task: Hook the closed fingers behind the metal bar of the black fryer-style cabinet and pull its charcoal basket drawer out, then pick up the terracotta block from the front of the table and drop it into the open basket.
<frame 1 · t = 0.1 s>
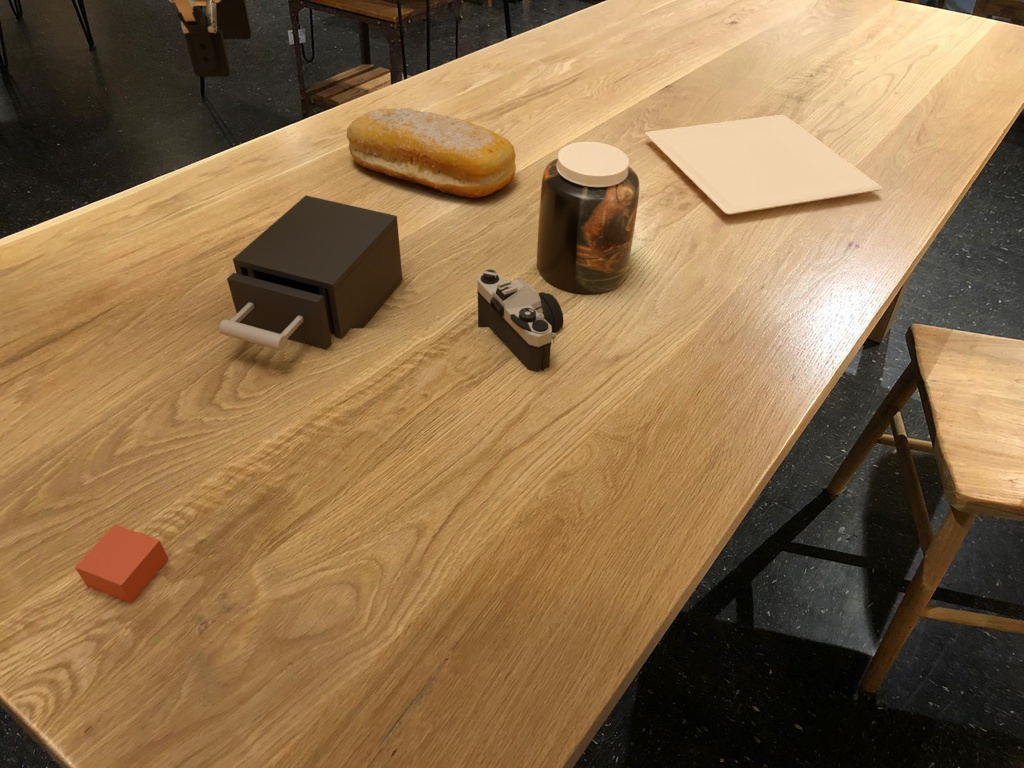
hand: (225, 55, 75), 27 cm above the table, tool pointing down, fingers open, 9 cm apart
plate: (754, 171, 118), on the table
jar: (581, 268, 98), on the table
drawer: (299, 295, 84), point 5 cm above the table, slide at 1.0 cm
cabinet: (329, 302, 91), on the table
bread: (430, 173, 115), on the table
camera: (526, 345, 86), on the table
block: (135, 584, 63), on the table
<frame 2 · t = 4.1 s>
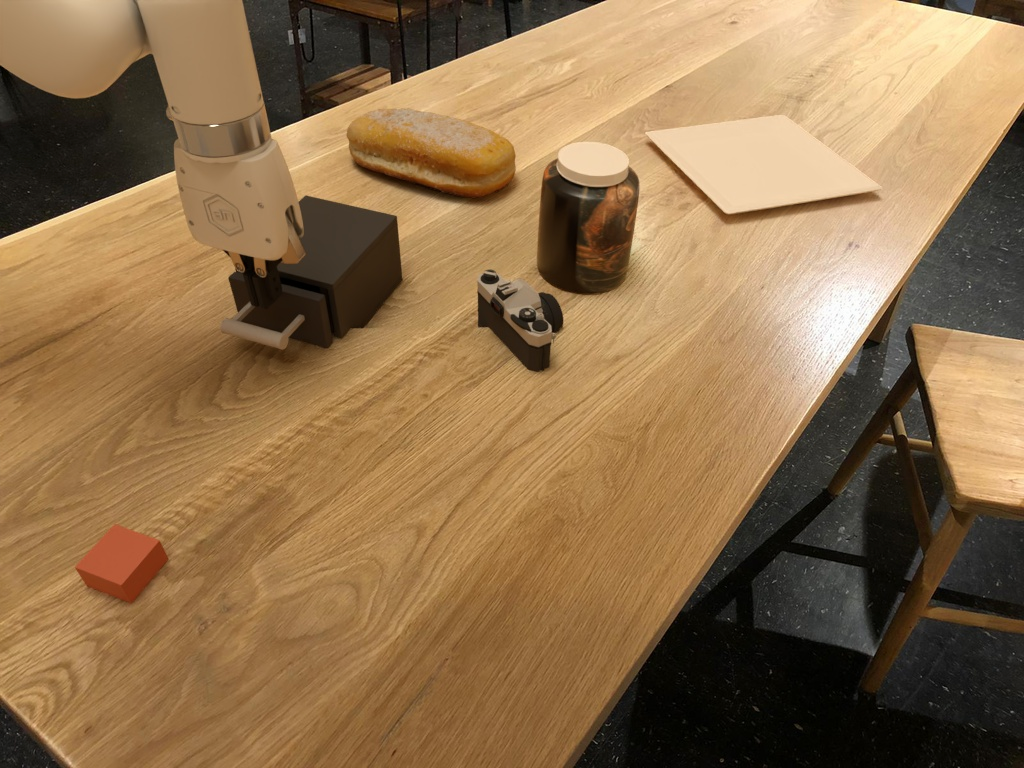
hand: (267, 299, 78), 8 cm above the table, tool pointing down, fingers closed
drawer: (300, 294, 84), point 5 cm above the table, slide at 0.8 cm, touching gripper
everything else where it was.
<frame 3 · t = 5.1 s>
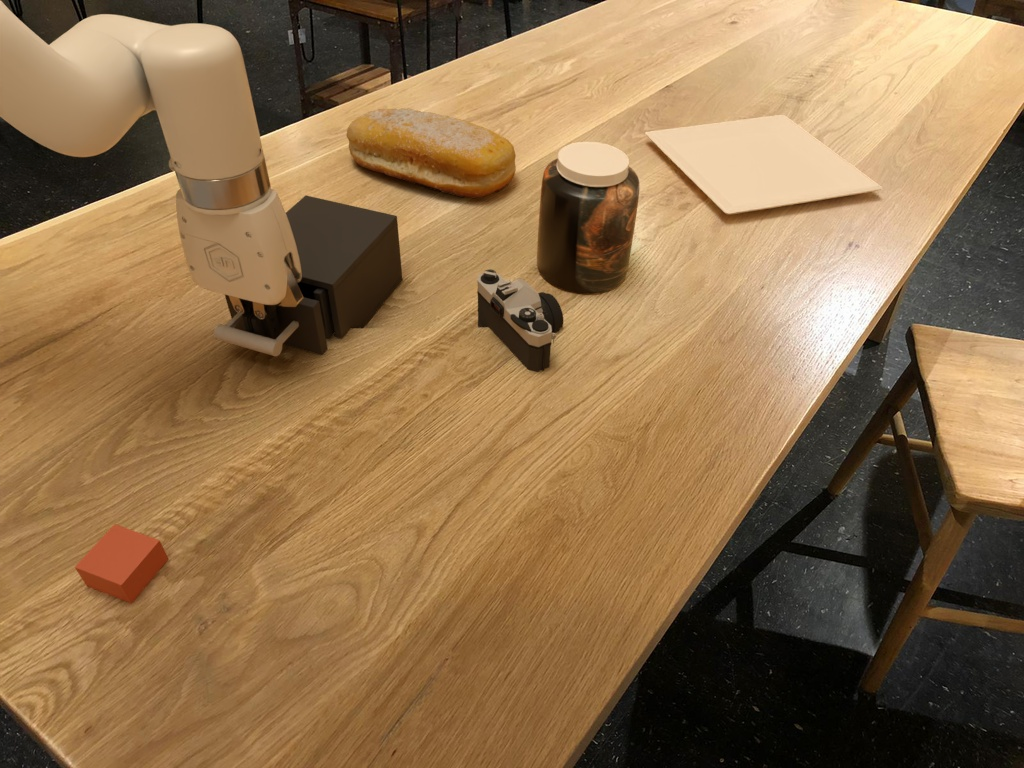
hand: (265, 339, 80), 4 cm above the table, tool pointing down, fingers closed
drawer: (294, 300, 83), point 5 cm above the table, slide at 1.9 cm, touching gripper
everything else where it was.
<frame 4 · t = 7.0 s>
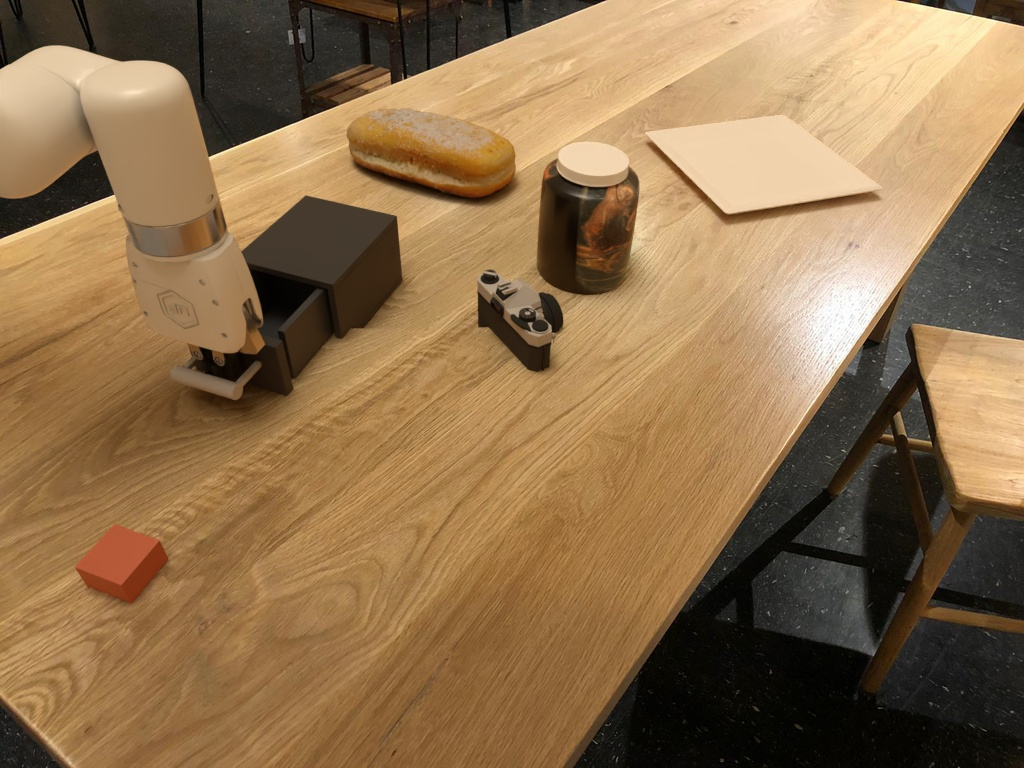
hand: (227, 384, 76), 3 cm above the table, tool pointing down, fingers closed
drawer: (259, 337, 79), point 5 cm above the table, slide at 8.6 cm, touching gripper
everything else where it was.
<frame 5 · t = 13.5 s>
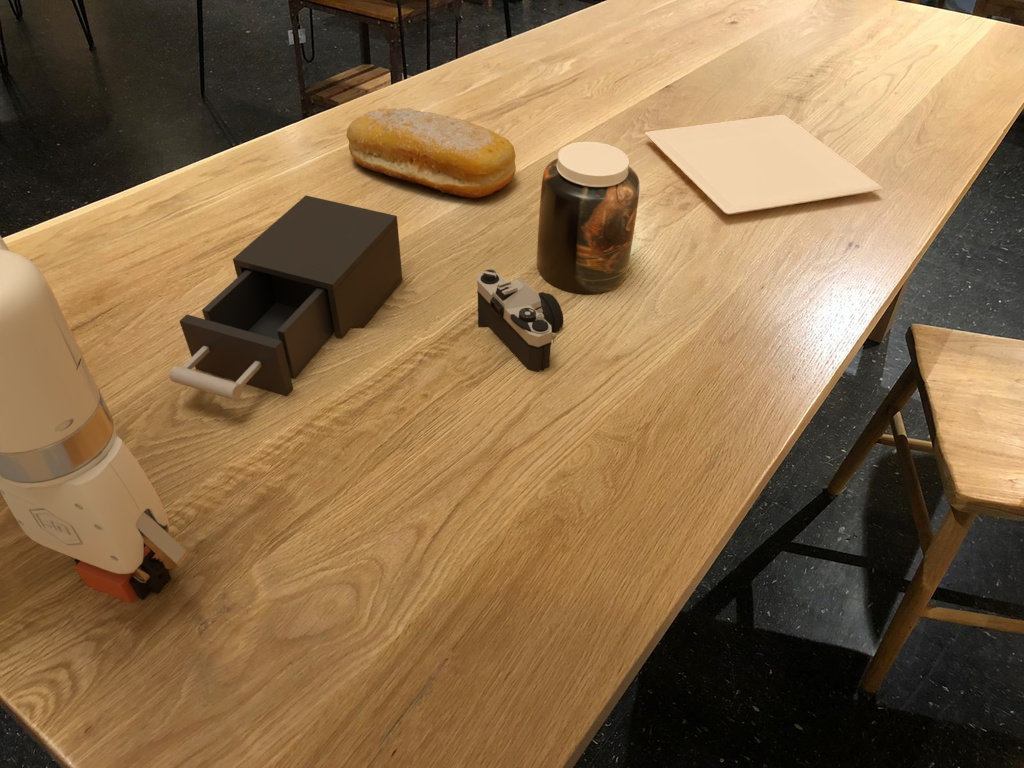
hand: (133, 582, 62), 0 cm above the table, tool pointing down, fingers closed on block, 4 cm apart
drawer: (259, 337, 79), point 5 cm above the table, slide at 8.7 cm
block: (135, 584, 63), on the table, touching gripper
everything else where it was.
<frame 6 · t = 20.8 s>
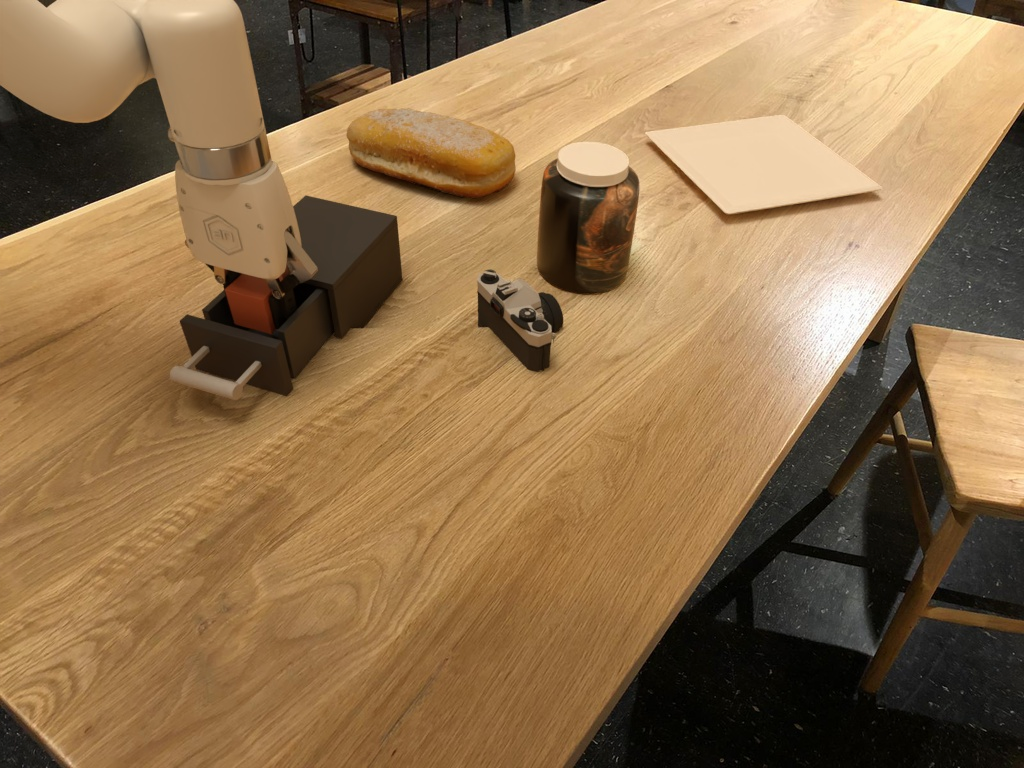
hand: (264, 314, 79), 6 cm above the table, tool pointing down, fingers closed on block, 4 cm apart
drawer: (259, 337, 79), point 5 cm above the table, slide at 8.7 cm, touching gripper
block: (265, 317, 79), point 6 cm above the table, touching gripper
everything else where it was.
when the fingers open (7 cm above the table, at t = 27.6 s): block drops 5 cm, resting on drawer.
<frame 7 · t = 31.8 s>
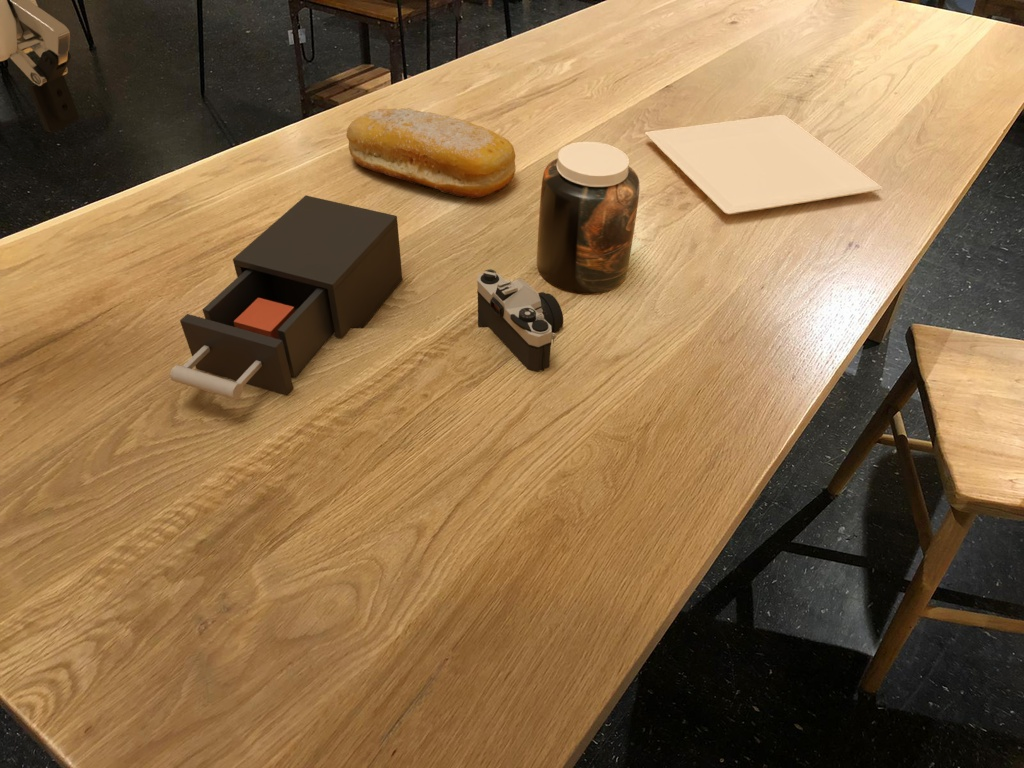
hand: (18, 115, 66), 26 cm above the table, tool pointing down, fingers open, 9 cm apart
drawer: (259, 336, 79), point 5 cm above the table, slide at 8.6 cm, touching block
block: (272, 346, 82), point 2 cm above the table, touching drawer
everything else where it was.
at the end: drawer slide at 8.6 cm; block touching drawer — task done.
